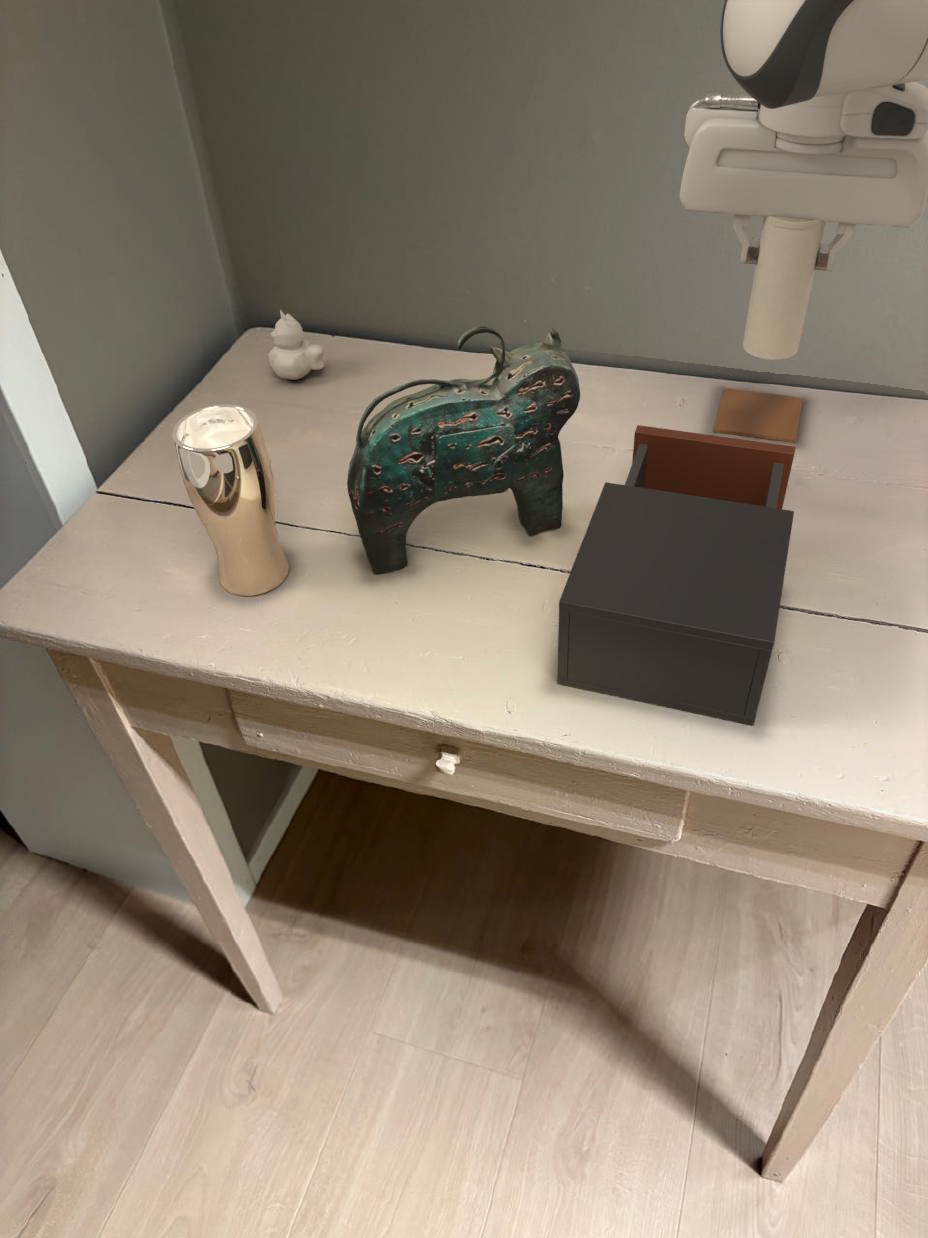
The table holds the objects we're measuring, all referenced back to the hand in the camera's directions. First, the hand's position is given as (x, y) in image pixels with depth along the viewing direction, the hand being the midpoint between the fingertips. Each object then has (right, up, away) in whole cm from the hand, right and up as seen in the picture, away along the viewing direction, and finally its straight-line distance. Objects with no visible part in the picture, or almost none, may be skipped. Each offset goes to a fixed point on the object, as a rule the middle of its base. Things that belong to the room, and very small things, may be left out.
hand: (786, 264), depth 87 cm
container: (0, -6, +6) cm, 8 cm away
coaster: (+1, -11, +11) cm, 16 cm away
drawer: (-9, -24, -3) cm, 26 cm away
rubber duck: (-48, -5, +22) cm, 53 cm away
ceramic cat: (-29, -25, -1) cm, 38 cm away
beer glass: (-48, -28, -3) cm, 55 cm away
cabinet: (-13, -34, -11) cm, 38 cm away
